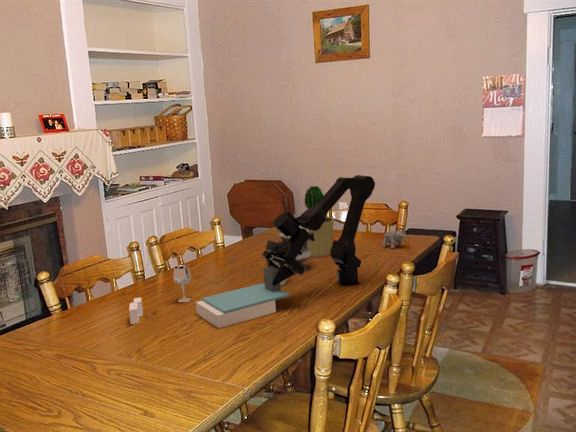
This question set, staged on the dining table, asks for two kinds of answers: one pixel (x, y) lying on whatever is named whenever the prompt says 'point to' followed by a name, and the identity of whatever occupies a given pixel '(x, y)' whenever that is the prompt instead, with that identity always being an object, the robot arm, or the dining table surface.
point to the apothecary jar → (305, 251)
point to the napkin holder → (135, 310)
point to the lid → (249, 294)
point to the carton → (233, 313)
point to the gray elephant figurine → (394, 238)
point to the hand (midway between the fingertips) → (268, 283)
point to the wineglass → (182, 279)
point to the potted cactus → (326, 231)
